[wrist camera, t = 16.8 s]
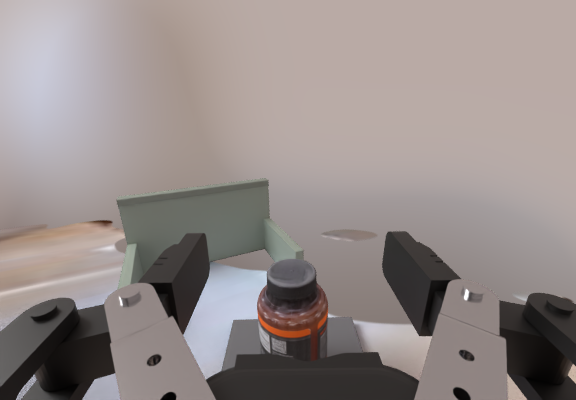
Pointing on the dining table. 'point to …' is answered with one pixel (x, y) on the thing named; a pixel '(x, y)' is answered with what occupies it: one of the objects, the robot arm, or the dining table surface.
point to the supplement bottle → (293, 312)
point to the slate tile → (248, 339)
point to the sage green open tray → (201, 224)
